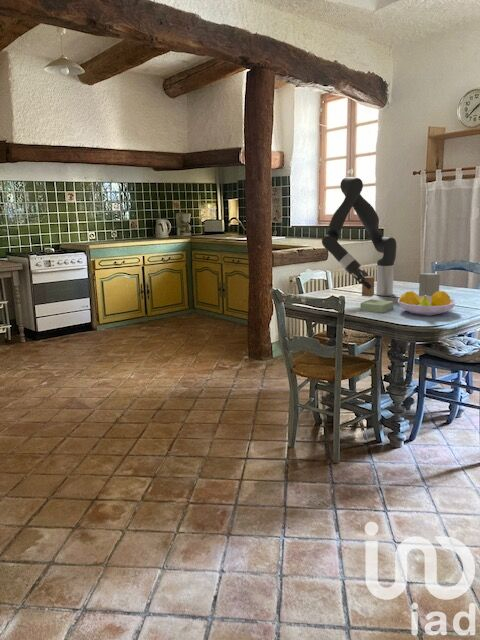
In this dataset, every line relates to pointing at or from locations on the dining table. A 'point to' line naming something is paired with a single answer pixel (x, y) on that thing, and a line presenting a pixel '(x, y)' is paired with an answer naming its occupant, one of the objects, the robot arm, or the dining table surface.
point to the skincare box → (428, 284)
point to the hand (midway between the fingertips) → (371, 287)
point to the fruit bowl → (426, 303)
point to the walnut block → (364, 289)
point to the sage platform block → (376, 305)
